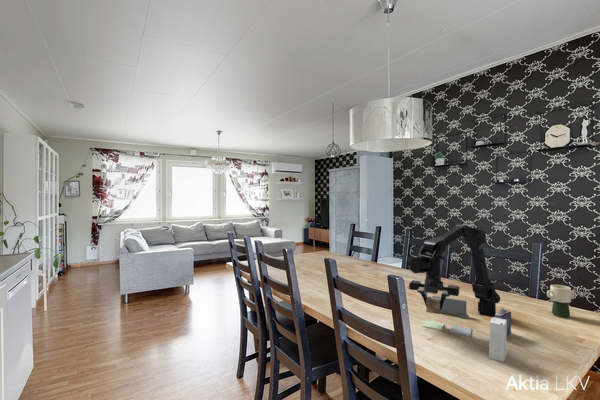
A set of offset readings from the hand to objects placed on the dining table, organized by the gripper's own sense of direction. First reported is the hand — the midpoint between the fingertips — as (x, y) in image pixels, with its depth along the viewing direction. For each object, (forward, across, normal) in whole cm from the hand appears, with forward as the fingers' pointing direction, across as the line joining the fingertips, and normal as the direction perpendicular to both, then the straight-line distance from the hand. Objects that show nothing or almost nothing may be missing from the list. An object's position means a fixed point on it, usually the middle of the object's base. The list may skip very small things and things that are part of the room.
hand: (433, 308), depth 125 cm
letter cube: (+1, 0, 0) cm, 1 cm away
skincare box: (+7, +22, -16) cm, 28 cm away
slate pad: (+7, +10, 0) cm, 12 cm away
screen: (+7, +4, +18) cm, 20 cm away
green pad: (+7, 0, 0) cm, 7 cm away
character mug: (+8, +47, +41) cm, 63 cm away
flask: (+8, +24, +4) cm, 25 cm away
